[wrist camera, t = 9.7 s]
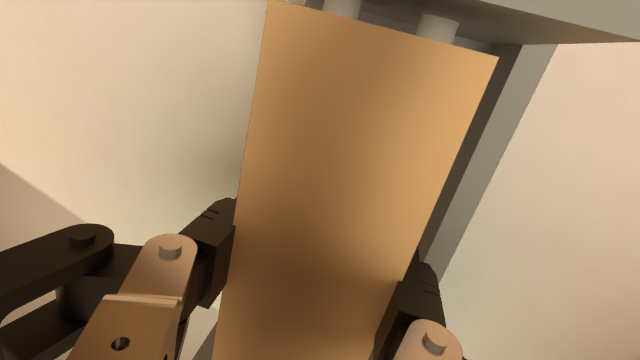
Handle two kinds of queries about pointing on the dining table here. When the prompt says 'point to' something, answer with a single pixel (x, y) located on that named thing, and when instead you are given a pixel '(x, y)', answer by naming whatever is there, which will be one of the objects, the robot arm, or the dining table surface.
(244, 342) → the shelf board
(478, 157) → the grey rack
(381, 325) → the robot arm
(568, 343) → the dining table surface
